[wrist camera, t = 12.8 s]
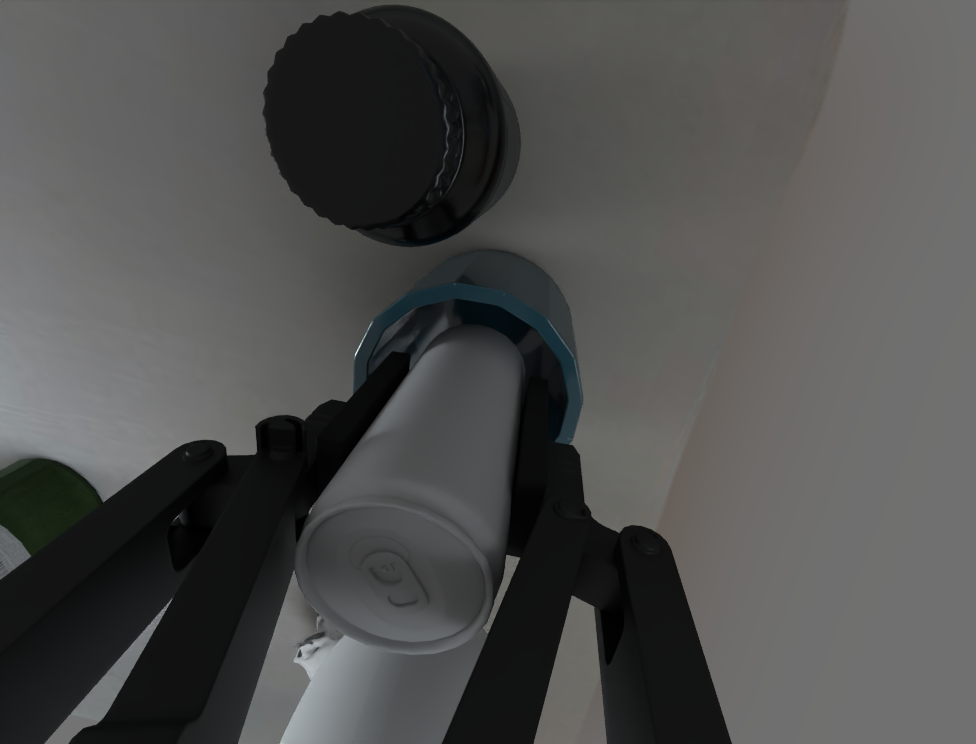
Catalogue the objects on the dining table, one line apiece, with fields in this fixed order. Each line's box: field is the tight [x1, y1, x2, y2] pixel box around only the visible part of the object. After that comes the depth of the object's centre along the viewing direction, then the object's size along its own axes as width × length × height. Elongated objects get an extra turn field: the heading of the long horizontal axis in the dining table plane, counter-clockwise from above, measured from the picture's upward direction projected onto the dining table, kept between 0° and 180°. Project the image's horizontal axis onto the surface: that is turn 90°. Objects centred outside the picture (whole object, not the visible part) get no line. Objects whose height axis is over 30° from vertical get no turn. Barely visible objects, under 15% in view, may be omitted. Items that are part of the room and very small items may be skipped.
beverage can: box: [294, 324, 526, 655], centre depth 15 cm, size 5×5×12 cm
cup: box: [353, 250, 583, 445], centre depth 22 cm, size 9×9×8 cm
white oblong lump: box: [294, 616, 345, 680], centre depth 35 cm, size 5×7×10 cm
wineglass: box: [280, 628, 488, 744], centre depth 20 cm, size 9×9×21 cm
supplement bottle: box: [262, 5, 521, 247], centre depth 16 cm, size 7×7×12 cm
